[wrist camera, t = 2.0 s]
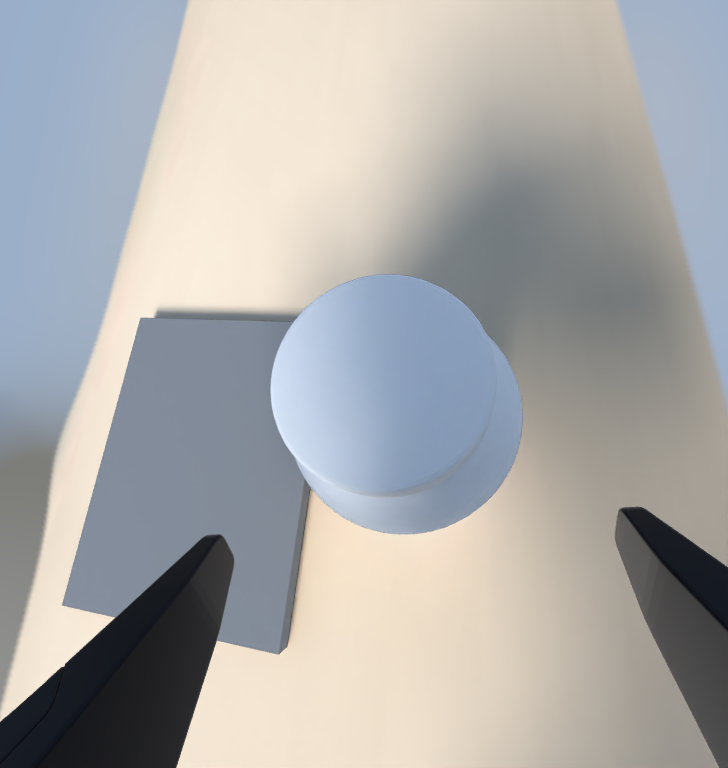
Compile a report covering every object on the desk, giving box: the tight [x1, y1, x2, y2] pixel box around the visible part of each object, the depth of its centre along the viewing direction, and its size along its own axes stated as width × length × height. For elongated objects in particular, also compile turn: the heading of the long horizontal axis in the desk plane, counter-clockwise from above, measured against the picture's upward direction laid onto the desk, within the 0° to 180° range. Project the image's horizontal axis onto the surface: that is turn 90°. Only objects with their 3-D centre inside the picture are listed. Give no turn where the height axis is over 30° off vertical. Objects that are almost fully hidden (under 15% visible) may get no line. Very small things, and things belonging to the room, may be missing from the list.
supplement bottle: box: [270, 274, 523, 534], centre depth 14 cm, size 7×7×13 cm
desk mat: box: [62, 318, 310, 654], centre depth 22 cm, size 16×12×1 cm
